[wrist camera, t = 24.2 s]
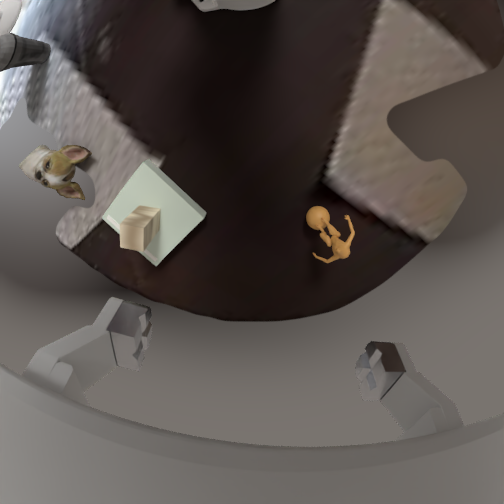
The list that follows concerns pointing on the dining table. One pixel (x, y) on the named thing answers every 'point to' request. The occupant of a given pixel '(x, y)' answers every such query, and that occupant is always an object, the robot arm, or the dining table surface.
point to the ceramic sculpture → (56, 168)
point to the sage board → (157, 196)
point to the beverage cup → (21, 51)
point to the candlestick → (9, 15)
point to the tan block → (139, 228)
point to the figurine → (318, 221)
